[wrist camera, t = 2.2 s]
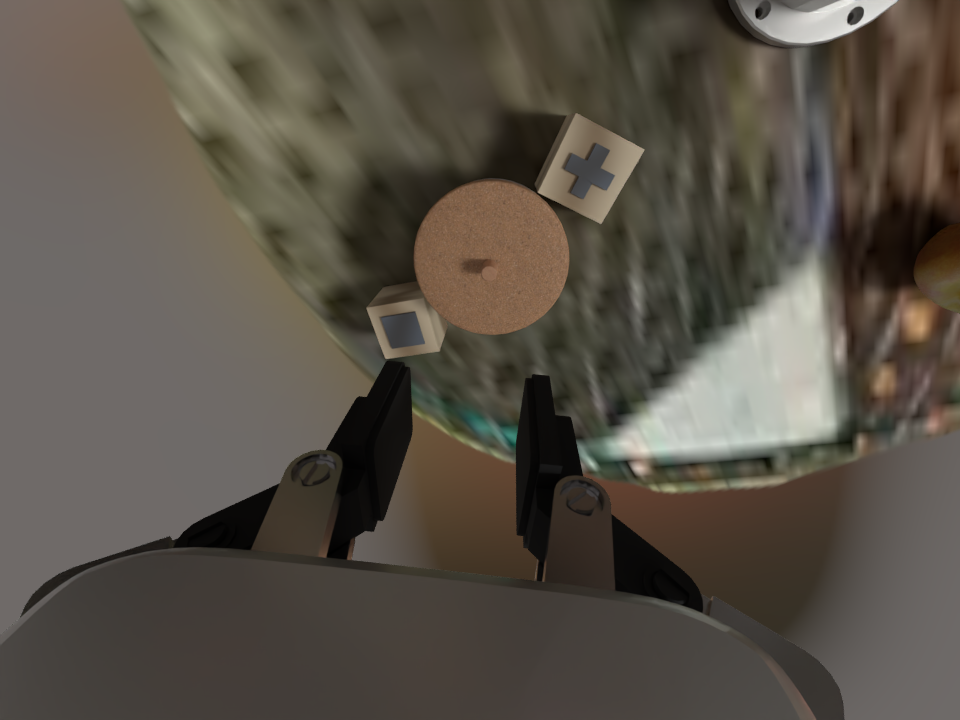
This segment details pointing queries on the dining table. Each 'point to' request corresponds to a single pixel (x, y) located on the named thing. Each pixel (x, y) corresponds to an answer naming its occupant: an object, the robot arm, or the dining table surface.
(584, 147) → the marked cube 2
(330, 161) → the dining table surface
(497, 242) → the lidded jar
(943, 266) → the fruit
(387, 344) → the marked cube 1
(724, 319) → the dining table surface
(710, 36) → the dining table surface
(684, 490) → the dining table surface
